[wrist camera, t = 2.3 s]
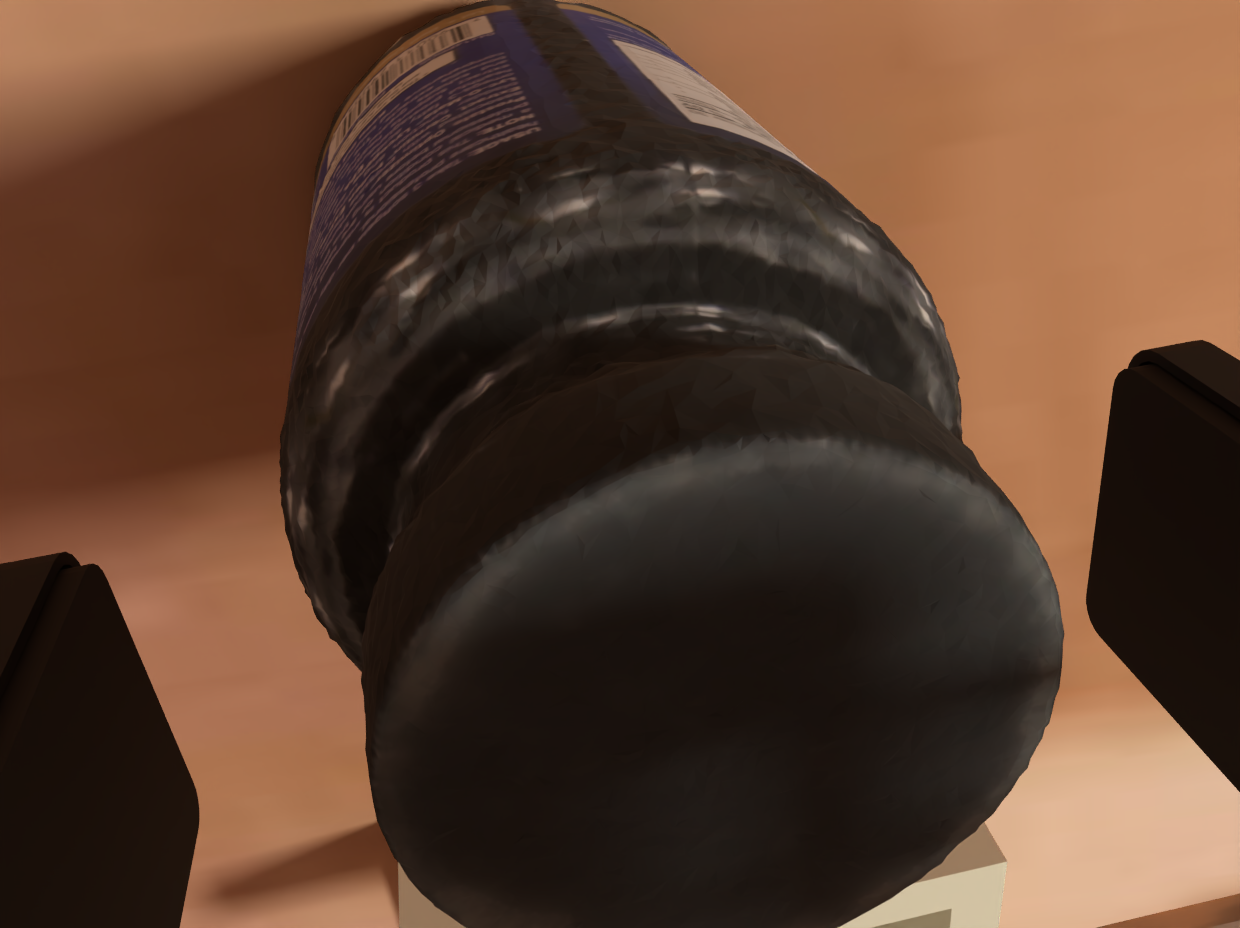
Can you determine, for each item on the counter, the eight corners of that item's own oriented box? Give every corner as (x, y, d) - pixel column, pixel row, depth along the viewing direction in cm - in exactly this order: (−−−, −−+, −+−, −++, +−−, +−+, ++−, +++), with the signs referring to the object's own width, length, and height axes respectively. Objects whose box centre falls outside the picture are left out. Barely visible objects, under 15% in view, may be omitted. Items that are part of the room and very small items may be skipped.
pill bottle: (357, 416, 18) (337, 1113, 8) (270, 8, 14) (80, 410, 5) (733, 364, 18) (1091, 947, 9) (730, -34, 15) (1284, 246, 6)
